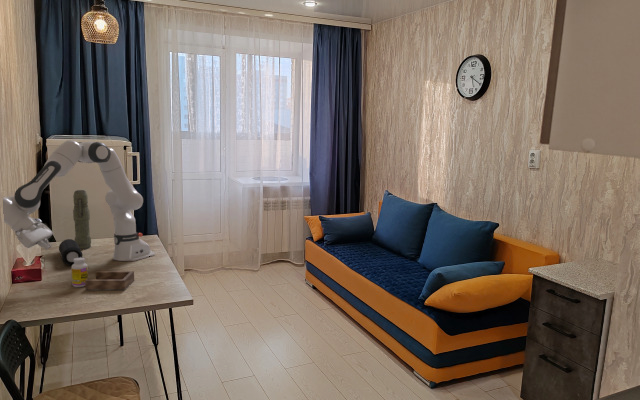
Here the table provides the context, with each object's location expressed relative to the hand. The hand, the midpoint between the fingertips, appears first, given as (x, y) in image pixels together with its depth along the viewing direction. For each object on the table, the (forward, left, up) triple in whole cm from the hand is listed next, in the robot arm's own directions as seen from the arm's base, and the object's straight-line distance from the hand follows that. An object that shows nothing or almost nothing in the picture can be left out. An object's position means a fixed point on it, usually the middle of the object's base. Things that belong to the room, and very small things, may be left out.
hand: (49, 247), depth 220 cm
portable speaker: (-23, -36, -18) cm, 47 cm away
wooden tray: (-18, +18, -18) cm, 32 cm away
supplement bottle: (-9, +9, -18) cm, 22 cm away
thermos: (-40, -59, -18) cm, 74 cm away
